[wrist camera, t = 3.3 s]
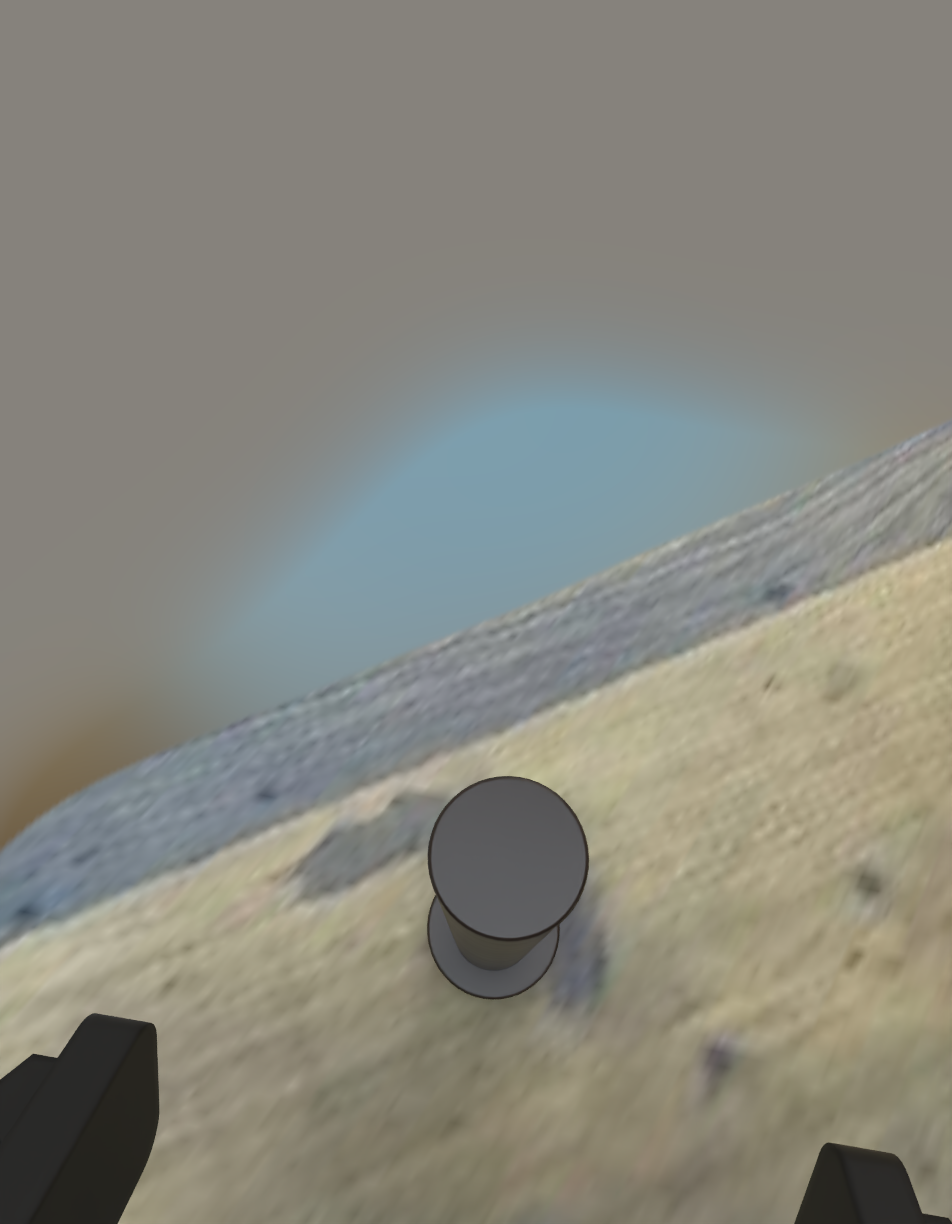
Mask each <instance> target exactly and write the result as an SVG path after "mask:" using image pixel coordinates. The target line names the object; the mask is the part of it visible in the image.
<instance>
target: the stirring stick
mask: <svg viewBox="0 0 952 1224" xmlns="http://www.w3.org/2000/svg"><path fill="white" fill-rule="evenodd" d="M428 869H429V875H430V879H431V883H432V886H433V889H434V891H435V894H436V895H435V897H434V899H433V902H432V904H431V907H430V911H429V915H428V923H427V935H428V942H429V947H430V950H431V954H432V956H433V958H434V961H435V963H436V964H437V966H438V968H439V970H440V971H441V972H442V974H443V975H444V976H445V977H446V978H447V979H448V980H449V981H450V982H451V983H452V984H453V985H454V986H456V987H457V988H458V989H460V990H462V991H463V992H465V993H467V994H470V995H472V996H475V997H478V998H483V999H504V998H509V997H513V996H515V995H518V994H520V993H522V992H524V991H526V990H528V989H529V988H531V987H532V986H533V985H535V984H536V983H537V982H538V981H539V980H540V979H541V978H542V977H543V975H544V974H545V973H546V972H547V970H548V968H549V967H550V965H551V963H552V961H553V959H554V957H555V954H556V951H557V947H558V942H559V931H560V927H559V924H560V923H561V922H562V921H563V920H564V919H565V918H566V917H567V916H568V915H569V914H570V912H571V911H572V910H573V909H574V907H575V906H576V904H577V902H578V901H579V899H580V897H581V895H582V892H583V890H584V887H585V884H586V880H587V875H588V869H589V853H588V845H587V841H586V836H585V833H584V831H583V828H582V825H581V824H580V822H579V820H578V818H577V816H576V814H575V813H574V812H573V810H572V809H571V807H570V806H569V805H568V804H567V803H566V802H565V800H563V799H562V798H561V797H560V796H559V795H558V794H557V793H555V792H554V791H552V790H551V789H549V788H548V787H546V786H544V785H542V784H540V783H538V782H535V781H532V780H530V779H525V778H521V777H512V776H502V777H494V778H488V779H485V780H482V781H479V782H477V783H475V784H472V785H470V786H469V787H467V788H465V789H464V790H462V791H461V792H460V793H458V794H457V795H456V796H455V797H454V798H453V799H452V800H451V801H450V802H449V803H448V804H447V805H446V806H445V808H444V809H443V810H442V812H441V813H440V815H439V817H438V819H437V821H436V822H435V825H434V827H433V830H432V833H431V837H430V841H429V847H428Z"/></svg>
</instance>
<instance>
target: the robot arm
mask: <svg viewBox="0 0 952 1224" xmlns="http://www.w3.org/2000/svg"><path fill="white" fill-rule="evenodd" d="M158 1120H159V1085H158V1058H157V1034H156V1028H155V1026H154V1024H152V1023H148V1022H143V1021H137V1020H131V1019H125V1018H119V1017H114V1016H108V1015H102V1014H96V1013H94V1014H91V1015H89V1016H88V1017H86V1018H85V1019H84V1021H83V1022H82V1023H81V1024H80V1025H79V1027H78V1028H77V1030H76V1031H75V1033H74V1034H73V1036H72V1037H71V1039H70V1040H69V1042H68V1043H67V1045H66V1046H65V1048H64V1049H63V1051H62V1052H61V1054H60V1055H59V1057H58V1058H54V1057H48V1056H43V1055H37V1054H32V1055H31V1056H30V1057H29V1058H27V1059H26V1060H25V1061H23V1062H22V1063H21V1064H20V1065H18V1066H17V1067H16V1068H15V1069H13V1070H12V1071H11V1072H9V1073H8V1074H7V1075H6V1076H4V1077H3V1078H2V1079H1V1080H0V1224H118V1222H119V1220H120V1218H121V1216H122V1213H123V1211H124V1209H125V1207H126V1205H127V1203H128V1201H129V1199H130V1197H131V1195H132V1193H133V1191H134V1189H135V1187H136V1185H137V1183H138V1181H139V1179H140V1176H141V1174H142V1172H143V1170H144V1168H145V1166H146V1163H147V1161H148V1158H149V1155H150V1152H151V1150H152V1146H153V1143H154V1139H155V1135H156V1131H157V1126H158ZM795 1224H952V1222H951V1221H950V1220H949V1218H945V1217H939V1216H933V1215H928V1214H922V1212H921V1209H920V1206H919V1204H918V1201H917V1198H916V1196H915V1193H914V1190H913V1187H912V1185H911V1182H910V1179H909V1176H908V1174H907V1171H906V1169H905V1167H904V1165H903V1163H902V1162H901V1160H900V1159H899V1158H898V1157H897V1156H896V1155H894V1154H892V1153H886V1152H881V1151H875V1150H869V1149H863V1148H857V1147H852V1146H846V1145H840V1144H834V1143H826V1144H825V1145H824V1146H823V1147H822V1149H821V1151H820V1153H819V1156H818V1159H817V1162H816V1164H815V1167H814V1170H813V1173H812V1176H811V1178H810V1181H809V1184H808V1187H807V1190H806V1193H805V1195H804V1198H803V1201H802V1204H801V1207H800V1209H799V1212H798V1215H797V1218H796V1221H795Z"/></svg>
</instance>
